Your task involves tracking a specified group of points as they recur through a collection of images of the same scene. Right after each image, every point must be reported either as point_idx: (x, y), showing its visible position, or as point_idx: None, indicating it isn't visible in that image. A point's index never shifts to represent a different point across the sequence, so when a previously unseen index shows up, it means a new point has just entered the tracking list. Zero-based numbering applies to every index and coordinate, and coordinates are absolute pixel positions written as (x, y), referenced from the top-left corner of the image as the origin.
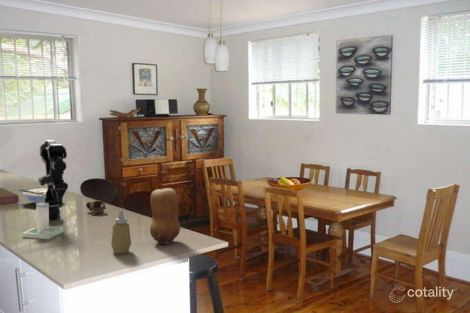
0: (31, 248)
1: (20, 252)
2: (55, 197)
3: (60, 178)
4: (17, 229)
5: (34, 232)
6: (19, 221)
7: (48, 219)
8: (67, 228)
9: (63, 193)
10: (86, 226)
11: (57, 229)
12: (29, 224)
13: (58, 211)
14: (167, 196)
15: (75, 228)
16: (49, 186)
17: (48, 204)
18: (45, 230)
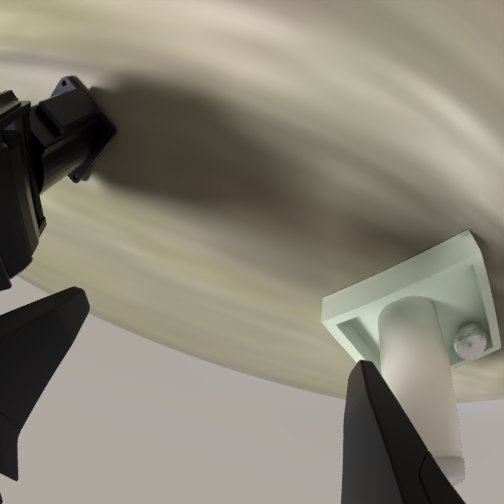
0: (497, 379)
1: (491, 398)
2: (75, 306)
3: None
4: (220, 336)
5: (359, 335)
6: (82, 274)
7: (449, 372)
8: (400, 152)
9: (439, 495)
10: (445, 20)
11: (481, 292)
12: (149, 270)
13: (58, 115)
14: None
15: (442, 112)
16: (14, 467)
17: (463, 470)
18: (474, 358)
